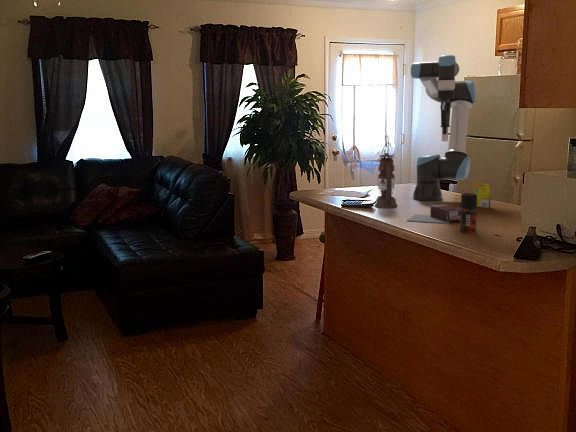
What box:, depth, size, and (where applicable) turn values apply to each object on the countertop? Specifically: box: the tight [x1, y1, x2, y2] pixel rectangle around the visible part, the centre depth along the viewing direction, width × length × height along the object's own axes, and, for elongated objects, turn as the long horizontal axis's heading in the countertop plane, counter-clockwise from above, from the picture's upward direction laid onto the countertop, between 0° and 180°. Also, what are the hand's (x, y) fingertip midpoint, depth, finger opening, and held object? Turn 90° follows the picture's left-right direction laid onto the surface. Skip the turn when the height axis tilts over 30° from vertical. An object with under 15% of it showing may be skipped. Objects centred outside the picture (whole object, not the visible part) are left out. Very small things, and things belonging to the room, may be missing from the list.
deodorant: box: [459, 192, 478, 234], centre depth 246 cm, size 6×6×15 cm
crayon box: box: [473, 182, 492, 209], centre depth 302 cm, size 7×3×12 cm, turn 57°
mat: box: [406, 213, 451, 225], centre depth 274 cm, size 15×18×1 cm
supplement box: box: [429, 204, 461, 223], centre depth 273 cm, size 9×5×16 cm
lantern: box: [374, 135, 398, 209], centre depth 306 cm, size 11×16×35 cm
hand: (444, 141), depth 292 cm, fingers closed
